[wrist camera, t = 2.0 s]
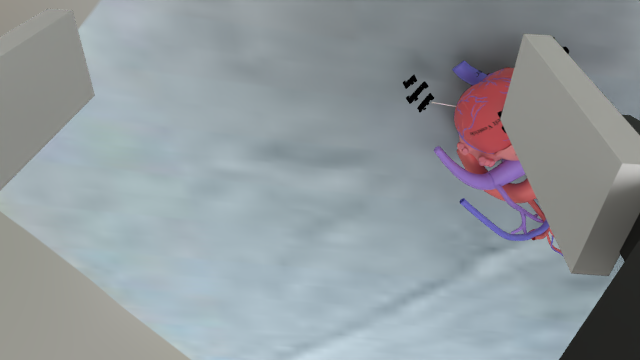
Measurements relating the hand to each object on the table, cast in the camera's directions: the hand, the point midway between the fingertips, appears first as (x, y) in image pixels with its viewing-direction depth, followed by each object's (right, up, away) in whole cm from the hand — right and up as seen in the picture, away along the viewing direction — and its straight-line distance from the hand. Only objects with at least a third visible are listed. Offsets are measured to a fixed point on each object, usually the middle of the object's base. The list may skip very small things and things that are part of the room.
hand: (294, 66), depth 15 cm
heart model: (+18, +3, +29) cm, 34 cm away
